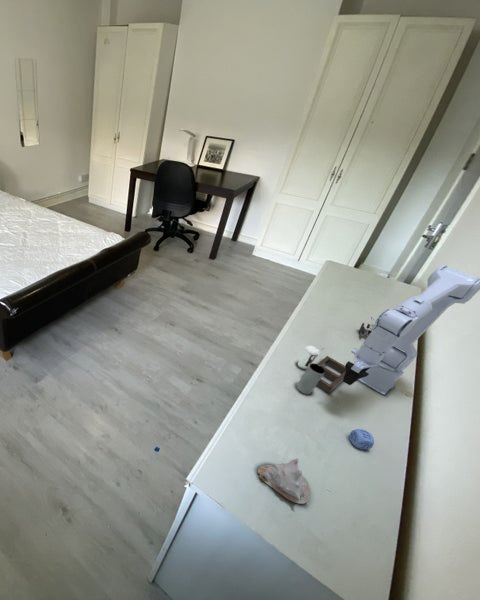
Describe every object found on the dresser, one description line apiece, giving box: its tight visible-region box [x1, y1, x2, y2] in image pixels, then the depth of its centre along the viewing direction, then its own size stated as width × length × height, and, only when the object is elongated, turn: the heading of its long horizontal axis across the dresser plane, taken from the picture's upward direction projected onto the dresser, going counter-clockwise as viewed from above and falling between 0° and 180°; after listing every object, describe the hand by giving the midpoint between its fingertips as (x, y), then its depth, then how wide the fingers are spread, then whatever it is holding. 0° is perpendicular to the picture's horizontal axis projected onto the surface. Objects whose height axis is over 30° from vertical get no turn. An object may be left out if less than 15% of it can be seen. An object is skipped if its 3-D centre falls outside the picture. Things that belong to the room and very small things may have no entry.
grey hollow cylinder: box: [296, 362, 325, 395], centre depth 108 cm, size 4×4×10 cm
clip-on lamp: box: [358, 316, 376, 337], centre depth 135 cm, size 12×6×18 cm
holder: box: [316, 355, 346, 395], centre depth 115 cm, size 8×16×3 cm, turn 124°
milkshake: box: [297, 345, 325, 370], centre depth 117 cm, size 4×5×10 cm
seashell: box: [257, 457, 310, 505], centre depth 81 cm, size 10×12×9 cm
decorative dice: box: [349, 428, 375, 450], centre depth 94 cm, size 4×4×4 cm
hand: (351, 377), depth 102 cm, fingers open, 7 cm apart
